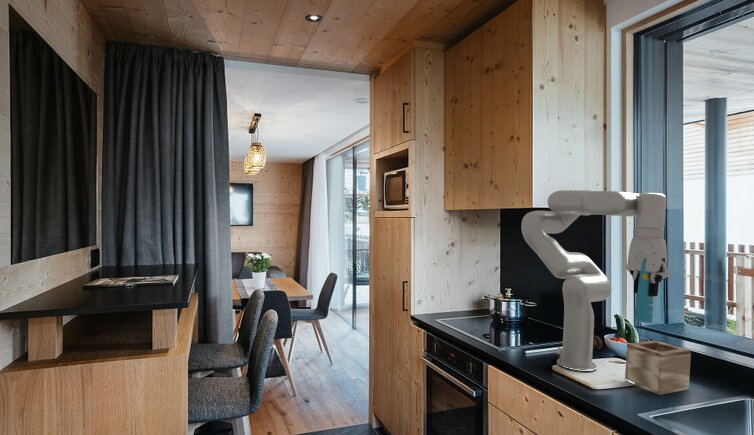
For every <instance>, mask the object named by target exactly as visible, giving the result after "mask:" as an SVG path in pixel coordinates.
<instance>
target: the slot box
mask: <svg viewBox="0 0 754 435" xmlns="http://www.w3.org/2000/svg"><path fill="white" fill-rule="evenodd" d="M691 355H692V350H690V349H687V348H683V347H680V346H676V345H673V344H671V343H670V344H669V343H665V342H662V341H658V340H649V341H639V342H629V343H626V356H625V357H626V358H625V372H624V376H625V377H624V380H625V379H627V380H630V381H632V382H634V383H635V385H634V386H635V387H638V388H641V389H644V390H646V391H648V392H649V391H650V392H652V393H654V394H657V395H659V396H662V395H666V394H672V393H677V392H683V391H687V390H690V377H691V376H690V374H691V372H690V371H691V360H692V357H691Z"/></svg>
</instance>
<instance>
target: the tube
mask: <svg viewBox="0 0 754 435" xmlns="http://www.w3.org/2000/svg"><path fill="white" fill-rule="evenodd" d="M644 260H645V259H643V262H642V266H641V271H640V277H639V284H638V291H637V293H636V300H635V301H636V302H635V308H634V316H633V318H634V321H636V322H639V323H647V324H651V323H653V321H654V320H653V319H654V297H655V296H653V297H651V296H648V290H649V283H651V278H650V273H648V272H645V262H644Z"/></svg>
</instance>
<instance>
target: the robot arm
mask: <svg viewBox="0 0 754 435" xmlns="http://www.w3.org/2000/svg"><path fill="white" fill-rule="evenodd" d="M546 202H547V206H548V208H549V210H550V211H549V210H534V211H530V212H527V213H526V214H525V215H524V216H523V217H522V220H521V224H520V225H521V226H520V228H521V233H522V236H523V239H524V241H525V243H526V244H528V246H529V247H530V248H531V249H532V250H533V252H535V253H536V255H537V256H538V257H539V259H540V260H541V262H543V264H544V265H545V266H546V268H547V269H548V270H549V271H550V273H551V274H552V275H553V276H554V277H555V278H557V279H562V280H564V279H565V280H564V281H563V284H562V295H563V296H562V297H563V306H564V307H563V308H564V309H563V310H564V312H563V313H564V314H563V330H562V331H563V334H562V335H563V336H562V347H559V346H558V347H557V349H555V351H554V353H555V354H557V355H559V358H558V359H557V360H556V364H557V365H558V366H559V365H562V366H565V367H568V368H573V369H580V370H587V369H594V368H596V367H598V366H597V364H596V363H594V362H593V351H594V348H593V335H594V330H595V329H594V328H595V314H594V313H595V312H594V310H593V307H592V303H594V302H602V301H605V300H607V299H609V297H610V296H611V294H612V285H611V282H610V281H609V278H608V277H607V276H606V275H605V273H603V272H602V270H601V269H600V268H599V266H597V264H595V262H594V261H592V259H591V258H590V257H589V256H588V255H586V254H585V253H582V252H577V251H575V252H574V251H573V252H571V251H567V250H565V249H564V248H563V247H562V246H561V245H560V244H559V242H558V241H557V240H556V239H555V238H554V237H552V236H550V235H549V234H553V235H554V234H560V233H562V232H564V231H565V230H566V229H567V228H569V226H570V225H571V224H573V223H574V222H575V221H576V220H577V219H578V218H579V217H580V216H591V215H598V216H599V215H600V216H601V215H602V216H613V217H619V216H620V217H635V218H636V219H635V229H633V230H632V233H633V234H634V237H632V239H631V241H630V245H629V250H628V255H627V256H628V257H627V265H626V266H625V269H626V271H628V273H629V275H631V277H632V280H633V282H634V283H633V293H634V294H637V291H638V284H639V277H640V271H641V266H642V262H643V259H645V260H644V262H645V272H648V273H650V278H651V283H649V290H648V296H651V297H653V296H654V297H658V295H659V285H660V284H661V283H662V281H663V280H664V279H665V278H668V277H670V276H671V272H670V270H669V268H668V252H667V250H668V249H667V242H666V239H665V223H666V222H665V221H666V210H667V208H666V207H667V196H666V194H664V193H660V192H642V193H637V192H630V191H629V192H628V191H616V190H614V191H613V190H609V191H608V190H607V191H606V190H590V189H588V190H587V189H585V190H580V189H579V190H577V189H576V190H572V189H571V190H566V189H565V190H562V189H560V190H556V191H553V192H552V193H551V194H550V195H549V196H548V198H547V201H546Z"/></svg>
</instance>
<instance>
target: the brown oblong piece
mask: <svg viewBox="0 0 754 435" xmlns="http://www.w3.org/2000/svg"><path fill="white" fill-rule="evenodd" d="M602 347H603V340H602V338H601V337H600V336H597V335H594V334H593V350H598V351H599V350H601V349H602Z"/></svg>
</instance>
